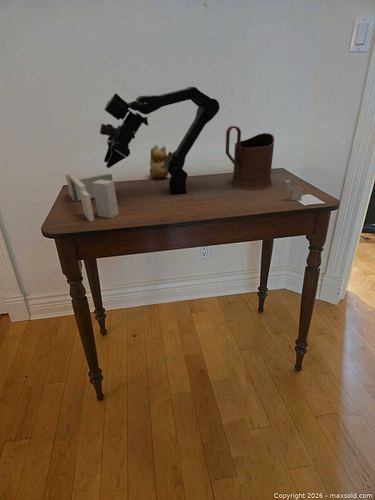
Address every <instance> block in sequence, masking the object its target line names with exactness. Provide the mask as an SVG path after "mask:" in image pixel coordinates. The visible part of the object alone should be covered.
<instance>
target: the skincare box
mask: <svg viewBox="0 0 375 500" xmlns="http://www.w3.org/2000/svg"><path fill="white" fill-rule="evenodd" d="M92 184H93V190H94V195H95V198H94V200H95V206H96V210H97V211H96V212H97V215H98V217H103V218H109V219H112V218H114V217H116V216H118V215H119V207H118V201H117V196H116V194H117V193H116V187H115V181H114V180H113V181H108V180H98V181H95V182H93V183H92Z"/></svg>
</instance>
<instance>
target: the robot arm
mask: <svg viewBox="0 0 375 500" xmlns="http://www.w3.org/2000/svg"><path fill="white" fill-rule="evenodd" d="M185 101H191V102H192V103H193V104H195V105H196V107H197V109H196V114H195V117H194V120H193V121H192V123H191V124H190V126H189V128H188V130H187V131H186V133H185V134H184V136H183V138H182V139H181V142H180V143H179V145H178V146H177V148H176V149H175V150H174V151H173V152H171V151H168V153H167V157H166V158H165V159H164V161H165V162H164V168H165V170H166V171H167V172H168V173H169V179H168V185H169V187H168V188H169V189H168V190H169V192H170V195H180V194H181V195H182V194H187V193H188V192H187V178H188V173H187V172H186V171H185V170H184V166H185V162H186V158H187V155H188V153H189V152H190V151H191V149H192V147H193V145H194V144H195V142H196V141H197V139H198V137H199V136H200V134H201V133H202V131H203V129H204V127H205V126H206V125H207V124H208V123H209V122H210V121H212V120H213V119H214V118H215V116H216V115H217V114H218V113H219V111H220V103H219V101H218V99H216V98H211V97H210V96H208V95H207V94H205V93H204V92H202V91H201V90H199V89H198V88H197V87H195V86H188V87H186V88H183V89H179V90H175V91H171V92H167V93H163V94H162V93H161V94H160V95H158V94H155V95H152V94H151V95H140V96H138V97H136V99H135V100H134V101H131V102H130V101H129V102H127V101H125V99H123V98H122V97H121V96H120V95H119V94H118V93H114V94H113V96H112V97H111V98H110V99H109V100H108V101H107V103H106V105H105V106H104V107H105V108H104V111H105V112H107V113H108V114H109V115H111V116H112V117H113V118H115V119H116V120H117V121H120V120H123V121H122V123H121V125H118V126H117V127H115V126H113V124H109V123H107V124H104V123H101V124H100V129H99V134H100V135H102V136H108V137H107V140H106V143H107V147H108V148H107V150H106V154H105V157H104V160H103V162H105V163H107V164H106V165H105V166H106V168H108V169H110V168H112V167H113V166H115V165H116V164H117V163H119V162H121V161H123V160H124V159H127V158H129V156H130V154H131V150H130V148H129V145H130V143H131V142H132V140H134V139H135V138H136V134H137V132H138V131H139V129H140V128H141V126H142V124H143V125H145V126H146V127H148V126H149V121H148V117H147V116H143V115H149V114H151V113H153V112H156V111H157V110H159V109H161V108H163V107H165V106H166V107H167V106H169V105H173V104H174V105H175V104H178V103H181V102H185ZM131 110H132V111H137V112H135V113H134V112H132V111H131ZM141 114H142V115H141Z"/></svg>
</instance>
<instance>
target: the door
mask: <svg viewBox="0 0 375 500" xmlns="http://www.w3.org/2000/svg"><path fill="white" fill-rule="evenodd" d="M78 179H79V180H80V181H81V182H82V183H83V184H84V185H85V187H86V192H87V193H88V194H89V195H90V199H95V195H94V190H93V184H92V183H93V182H95V181H98V180H108V181H114V180H113V174H112V173H108V174H101V175H96V176H89V177H84V178H82V177H81V178H78ZM71 184H72V188H73V193H74V198H75V201H74V202H79V201H82V200H81V195H80V190H79V188H78V187H77V186H76V185H75V184H74V183H73V181H72V180H71Z"/></svg>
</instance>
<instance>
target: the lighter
mask: <svg viewBox="0 0 375 500" xmlns="http://www.w3.org/2000/svg"><path fill="white" fill-rule="evenodd" d="M284 184H285V187H286V189H287V191H288V192H289V193H290V194H289V199H290V201H292V200H296V201H300V200H299V199H301V200H302V199H303V198H302V197H303V191H304V189H303V188H302V187H301V185H294V186H292V183H291V180H290V179H289V178H288V179H286V180H285V181H284ZM292 202H293V201H292Z"/></svg>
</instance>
